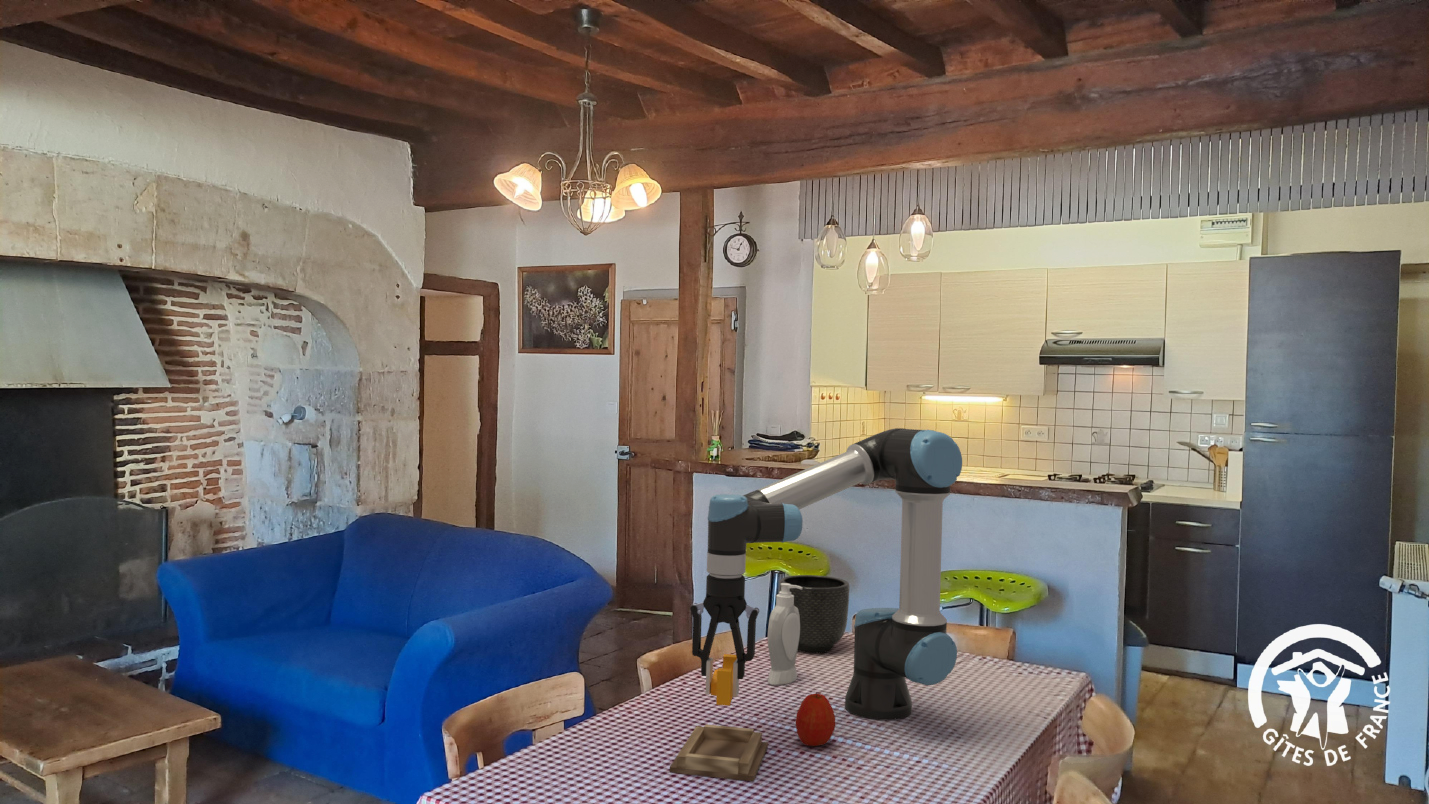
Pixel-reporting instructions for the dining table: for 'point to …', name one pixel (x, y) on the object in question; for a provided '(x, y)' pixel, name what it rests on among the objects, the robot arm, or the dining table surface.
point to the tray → (721, 753)
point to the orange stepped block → (724, 681)
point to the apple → (815, 720)
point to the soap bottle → (783, 637)
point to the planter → (819, 610)
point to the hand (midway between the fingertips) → (722, 693)
